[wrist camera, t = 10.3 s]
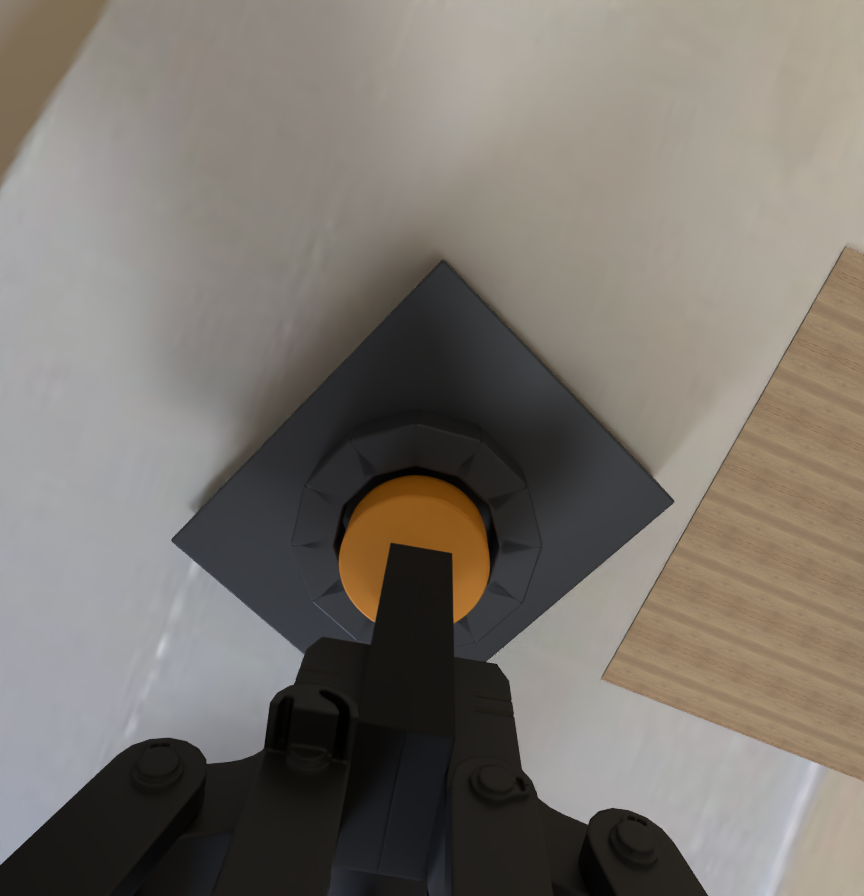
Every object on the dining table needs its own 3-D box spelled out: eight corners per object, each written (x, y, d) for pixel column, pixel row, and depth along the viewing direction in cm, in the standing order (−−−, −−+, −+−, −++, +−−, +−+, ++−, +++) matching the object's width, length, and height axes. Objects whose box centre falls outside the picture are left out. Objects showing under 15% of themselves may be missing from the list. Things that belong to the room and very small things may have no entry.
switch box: (194, 515, 24) (145, 566, 20) (443, 258, 21) (442, 260, 17) (402, 696, 25) (394, 775, 22) (654, 478, 23) (696, 524, 19)
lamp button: (318, 539, 20) (306, 566, 18) (416, 445, 19) (413, 464, 17) (417, 628, 21) (414, 661, 19) (515, 541, 20) (521, 568, 18)
